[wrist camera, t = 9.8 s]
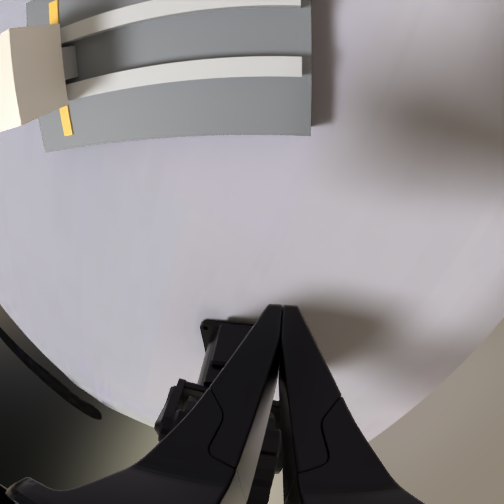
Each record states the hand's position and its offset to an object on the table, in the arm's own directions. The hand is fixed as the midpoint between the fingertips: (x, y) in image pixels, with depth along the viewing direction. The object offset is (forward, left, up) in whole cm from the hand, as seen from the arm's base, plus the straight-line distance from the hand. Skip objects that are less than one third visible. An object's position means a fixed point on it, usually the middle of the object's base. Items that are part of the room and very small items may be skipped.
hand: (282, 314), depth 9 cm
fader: (+8, +14, -10) cm, 19 cm away
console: (+8, +8, -12) cm, 16 cm away
